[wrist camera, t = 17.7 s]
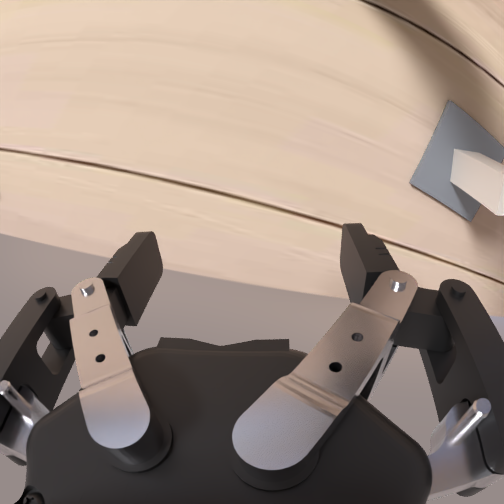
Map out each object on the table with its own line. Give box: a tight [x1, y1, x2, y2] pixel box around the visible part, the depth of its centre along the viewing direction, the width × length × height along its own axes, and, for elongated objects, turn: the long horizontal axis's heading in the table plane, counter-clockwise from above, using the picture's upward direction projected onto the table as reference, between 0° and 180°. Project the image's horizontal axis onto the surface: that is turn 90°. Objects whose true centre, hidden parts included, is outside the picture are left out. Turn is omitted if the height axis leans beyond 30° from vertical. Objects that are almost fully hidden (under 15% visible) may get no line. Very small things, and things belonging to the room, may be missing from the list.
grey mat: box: [409, 100, 504, 222], centre depth 35 cm, size 14×14×1 cm
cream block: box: [450, 149, 504, 216], centre depth 29 cm, size 5×5×12 cm
